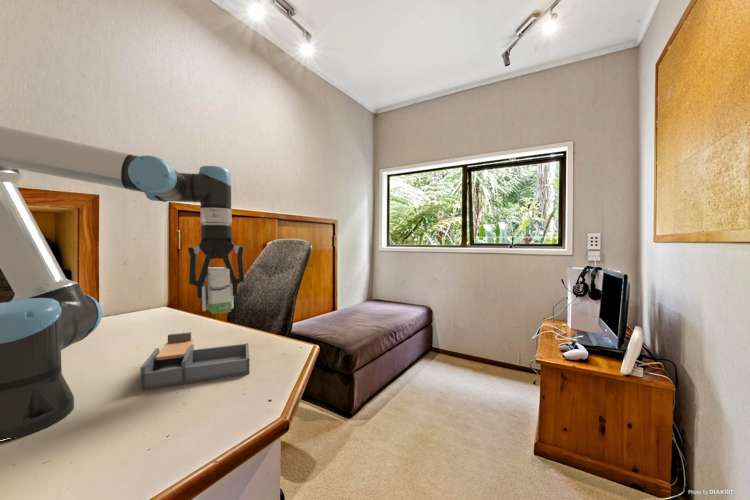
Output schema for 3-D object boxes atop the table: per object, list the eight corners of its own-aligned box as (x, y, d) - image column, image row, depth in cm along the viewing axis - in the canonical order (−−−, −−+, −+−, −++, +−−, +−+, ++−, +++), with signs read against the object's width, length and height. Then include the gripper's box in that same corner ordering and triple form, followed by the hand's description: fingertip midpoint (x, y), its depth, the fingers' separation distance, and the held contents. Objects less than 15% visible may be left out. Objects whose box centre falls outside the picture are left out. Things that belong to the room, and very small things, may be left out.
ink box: (231, 312, 82) (230, 268, 82) (210, 314, 79) (210, 269, 79) (225, 306, 89) (224, 266, 89) (205, 308, 86) (204, 267, 86)
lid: (155, 360, 81) (155, 348, 81) (166, 344, 93) (166, 334, 93) (186, 356, 84) (186, 345, 84) (193, 341, 96) (193, 331, 96)
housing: (141, 390, 73) (140, 367, 73) (156, 368, 86) (155, 348, 86) (249, 373, 83) (249, 353, 82) (248, 355, 95) (248, 338, 95)
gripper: (172, 223, 76) (175, 315, 77) (253, 224, 83) (255, 308, 84) (179, 224, 83) (181, 309, 84) (253, 225, 90) (255, 303, 91)
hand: (218, 308), depth 84 cm, fingers closed on ink box, 6 cm apart
